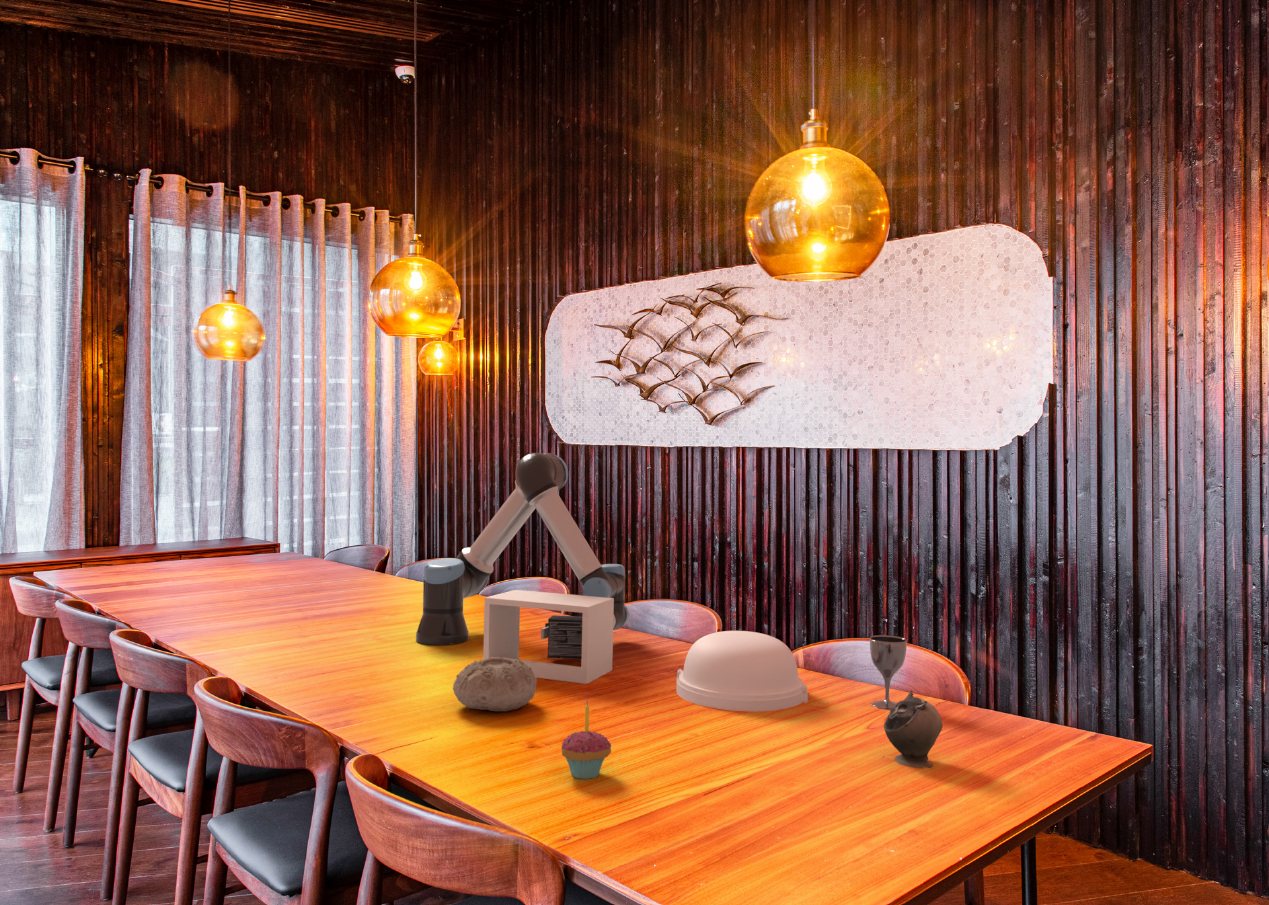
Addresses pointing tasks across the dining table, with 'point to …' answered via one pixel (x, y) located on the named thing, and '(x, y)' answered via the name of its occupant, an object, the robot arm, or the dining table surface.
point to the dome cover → (741, 673)
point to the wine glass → (887, 661)
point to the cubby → (595, 617)
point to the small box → (565, 637)
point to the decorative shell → (495, 684)
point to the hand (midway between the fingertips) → (562, 636)
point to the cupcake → (585, 751)
